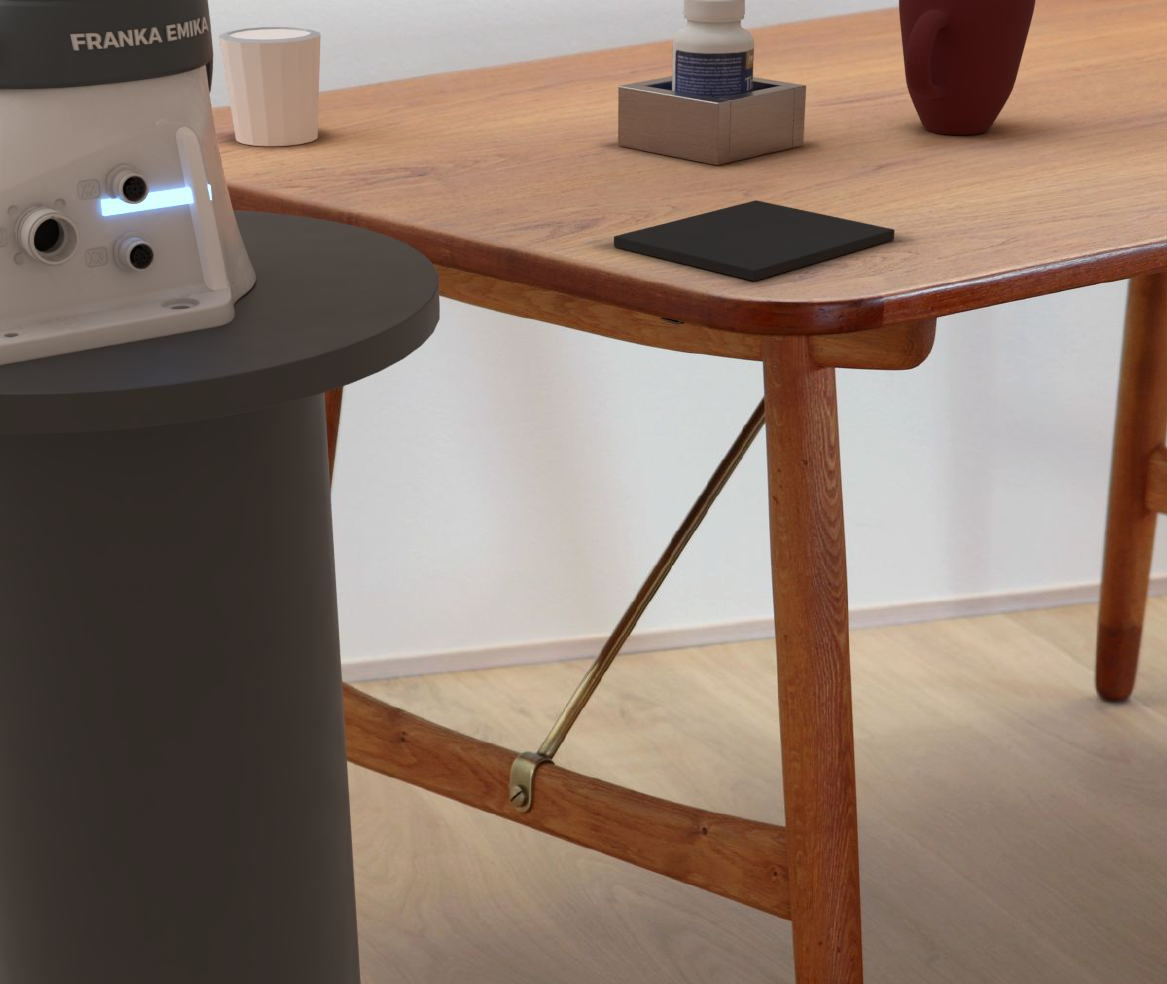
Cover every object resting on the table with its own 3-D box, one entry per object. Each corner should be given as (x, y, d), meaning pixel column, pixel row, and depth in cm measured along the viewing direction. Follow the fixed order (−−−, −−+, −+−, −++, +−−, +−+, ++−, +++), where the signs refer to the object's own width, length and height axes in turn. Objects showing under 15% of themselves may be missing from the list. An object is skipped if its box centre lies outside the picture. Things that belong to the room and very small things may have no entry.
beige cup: (290, 151, 125) (283, 43, 122) (206, 142, 128) (197, 36, 125) (346, 133, 130) (340, 29, 127) (263, 125, 133) (256, 23, 130)
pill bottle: (760, 152, 125) (766, 0, 121) (682, 155, 124) (686, 2, 120) (737, 136, 129) (742, -11, 125) (662, 139, 128) (664, -9, 124)
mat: (754, 281, 96) (754, 270, 95) (613, 246, 102) (613, 236, 102) (894, 239, 103) (895, 229, 103) (755, 210, 110) (755, 199, 110)
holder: (716, 165, 121) (718, 102, 119) (617, 145, 126) (617, 85, 125) (803, 145, 127) (806, 85, 125) (704, 127, 132) (706, 69, 131)
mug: (989, 155, 124) (1005, -25, 119) (857, 142, 128) (868, -33, 123) (1038, 123, 133) (1054, -44, 129) (914, 112, 137) (926, -51, 132)
